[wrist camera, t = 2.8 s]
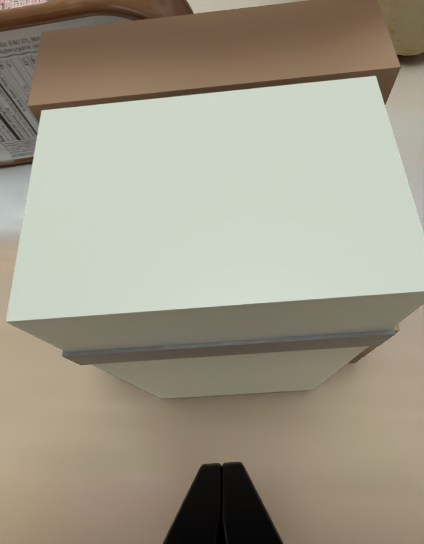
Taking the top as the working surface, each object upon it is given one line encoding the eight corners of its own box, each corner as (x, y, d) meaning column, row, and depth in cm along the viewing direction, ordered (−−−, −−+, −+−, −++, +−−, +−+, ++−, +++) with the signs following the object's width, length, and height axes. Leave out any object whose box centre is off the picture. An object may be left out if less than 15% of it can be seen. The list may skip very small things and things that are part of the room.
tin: (207, 101, 22) (186, -78, 15) (214, 144, 21) (195, -28, 13) (-49, 143, 23) (-201, -11, 15) (-57, 187, 21) (-229, 44, 14)
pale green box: (315, 391, 15) (449, 295, 5) (159, 401, 16) (-1, 327, 6) (300, 292, 17) (379, 72, 7) (159, 302, 17) (37, 107, 7)
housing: (355, 362, 16) (473, 276, 8) (118, 377, 16) (-13, 312, 8) (320, 183, 19) (375, -8, 11) (126, 201, 20) (41, 31, 12)
